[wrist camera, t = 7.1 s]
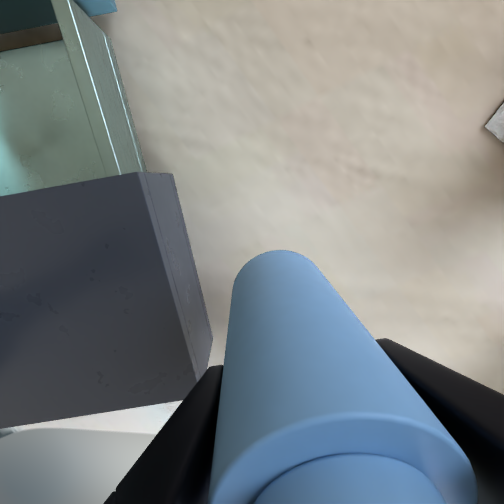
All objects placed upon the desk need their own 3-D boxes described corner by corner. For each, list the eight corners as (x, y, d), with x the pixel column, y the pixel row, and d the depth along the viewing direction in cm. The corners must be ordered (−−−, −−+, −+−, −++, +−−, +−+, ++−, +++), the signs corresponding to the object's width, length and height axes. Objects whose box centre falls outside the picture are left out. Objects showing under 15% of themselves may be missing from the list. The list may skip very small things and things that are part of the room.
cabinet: (-14, 206, 18) (-136, 220, 12) (172, 173, 18) (137, 171, 12) (58, 363, 22) (-9, 430, 16) (213, 338, 22) (201, 397, 16)
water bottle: (241, 340, 12) (229, 816, 3) (223, 258, 11) (122, 637, 2) (328, 326, 12) (578, 777, 3) (320, 241, 11) (687, 560, 2)
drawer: (-144, -66, 13) (-319, -174, 9) (85, -113, 13) (12, -246, 9) (-3, 238, 18) (-77, 257, 14) (169, 208, 18) (146, 218, 14)
